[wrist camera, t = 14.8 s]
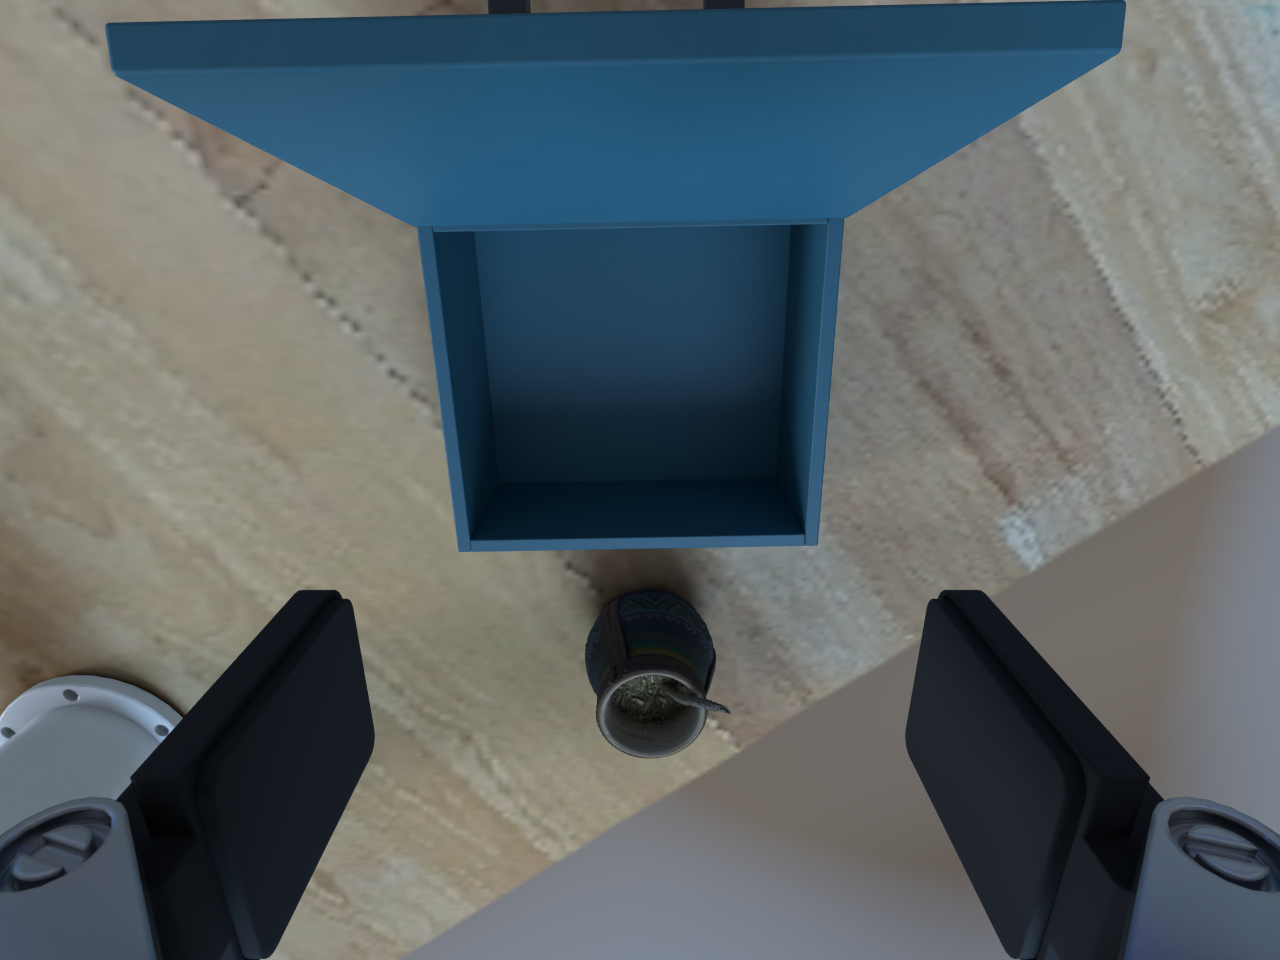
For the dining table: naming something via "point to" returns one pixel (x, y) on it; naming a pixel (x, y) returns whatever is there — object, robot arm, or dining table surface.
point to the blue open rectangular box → (634, 380)
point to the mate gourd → (651, 673)
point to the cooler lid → (620, 101)
